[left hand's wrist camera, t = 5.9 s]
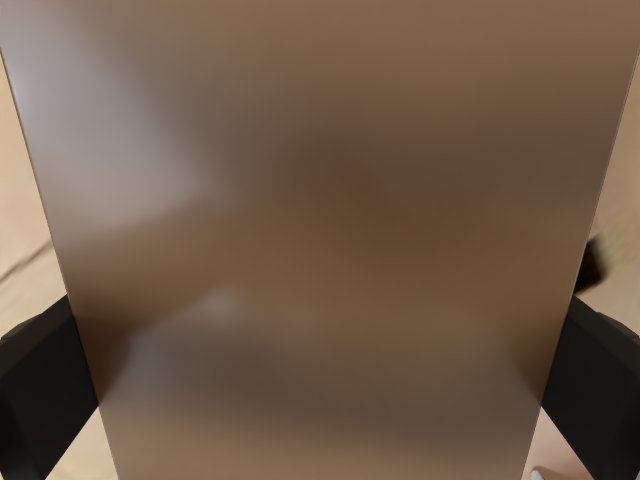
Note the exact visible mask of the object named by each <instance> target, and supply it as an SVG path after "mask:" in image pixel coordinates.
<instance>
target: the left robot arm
mask: <svg viewBox="0 0 640 480" xmlns="http://www.w3.org/2000/svg"><path fill="white" fill-rule="evenodd" d="M541 406H542V408H543V409H544V410H545V412H546V413H547V414H548V416H549V417H550V419H551V420H552V421H553V423H554V424H555V426H556V427H557V428H558V430H559V431H560V433H561V434H562V435H563V437H564V438H565V439H566V441H567V442H568V444H569V445H570V446H571V448H572V449H573V451H574V452H575V453H576V455H577V456H578V457H579V459H580V460H581V462H582V463H583V464H584V466H585V467H586V469H587V470H588V471H589V473H590V474H591V476H592V477H593V478H594V480H636V477H637V475H638V473H639V471H640V338H639V336H638V335H637V334H636V333H634V332H633V331H632V330H630V329H629V328H628V327H626V326H625V325H624V324H622V323H620V322H618V321H616V320H614V319H612V318H610V317H608V316H606V315H604V314H602V313H600V312H595V311H594V310H593V309H591V308H590V307H589V306H588V305H586V304H585V303H584V302H582V301H581V300H580V299H579V298H577V297H576V296H575V295H573V294H572V297H571V301H570V304H569V308H568V312H567V315H566V319H565V322H564V326H563V330H562V333H561V337H560V340H559V344H558V348H557V351H556V355H555V358H554V362H553V366H552V369H551V373H550V376H549V380H548V384H547V387H546V391H545V394H544V398H543V402H542V405H541ZM97 407H98V403H97V400H96V396H95V392H94V389H93V385H92V382H91V378H90V374H89V371H88V367H87V364H86V360H85V356H84V353H83V349H82V345H81V342H80V338H79V335H78V331H77V327H76V324H75V320H74V317H73V313H72V309H71V306H70V302H69V299H68V295H67V294H66V295H65V296H64V297H62V298H61V299H60V300H58V301H57V302H56V303H55V304H53V305H52V306H51V307H49V308H48V309H47V310H45V311H44V312H43V313H42V314H39V315H37V316H35V317H33V318H31V319H29V320H27V321H25V322H22V323H20V324H18V325H17V326H16V327H14V328H13V329H12V330H10V331H9V332H8V333H6V334H5V335H4V336H2V337H1V340H0V472H1V474H2V477H3V479H4V480H45V479H46V478H47V476H48V475H49V474H50V472H51V471H52V469H53V468H54V467H55V465H56V464H57V462H58V461H59V460H60V458H61V457H62V456H63V454H64V453H65V451H66V450H67V449H68V447H69V446H70V444H71V443H72V442H73V440H74V439H75V437H76V436H77V435H78V433H79V432H80V431H81V429H82V428H83V426H84V425H85V424H86V422H87V421H88V419H89V418H90V417H91V415H92V414H93V413H94V411H95V410H96V408H97Z"/></svg>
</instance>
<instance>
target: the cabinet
mask: <svg viewBox="0 0 640 480" xmlns="http://www.w3.org/2000/svg"><path fill="white" fill-rule="evenodd" d="M639 52H640V0H0V54H1V57H2V61H3V64H4V68H5V72H6V75H7V79H8V82H9V86H10V90H11V93H12V97H13V100H14V104H15V108H16V111H17V115H18V119H19V122H20V126H21V129H22V133H23V137H24V140H25V144H26V147H27V151H28V155H29V158H30V162H31V165H32V169H33V173H34V176H35V180H36V183H37V187H38V191H39V194H40V198H41V201H42V205H43V209H44V212H45V216H46V219H47V223H48V227H49V230H50V234H51V237H52V241H53V245H54V248H55V252H56V255H57V259H58V263H59V266H60V270H61V273H62V277H63V281H64V284H65V288H66V291H67V295H68V299H69V302H70V306H71V309H72V313H73V317H74V320H75V324H76V327H77V331H78V335H79V338H80V342H81V345H82V349H83V353H84V356H85V360H86V364H87V367H88V371H89V374H90V378H91V382H92V385H93V389H94V392H95V396H96V400H97V403H98V407H99V410H100V414H101V418H102V421H103V425H104V428H105V432H106V436H107V439H108V443H109V446H110V450H111V454H112V457H113V461H114V464H115V468H116V472H117V475H118V479H119V480H521V477H522V474H523V470H524V467H525V463H526V459H527V456H528V452H529V449H530V445H531V441H532V438H533V434H534V430H535V427H536V423H537V420H538V416H539V412H540V409H541V405H542V402H543V398H544V394H545V391H546V387H547V384H548V380H549V376H550V373H551V369H552V366H553V362H554V358H555V355H556V351H557V348H558V344H559V340H560V337H561V333H562V330H563V326H564V322H565V319H566V315H567V312H568V308H569V304H570V301H571V297H572V294H573V290H574V286H575V283H576V279H577V275H578V272H579V268H580V265H581V261H582V257H583V254H584V250H585V247H586V243H587V239H588V236H589V232H590V229H591V225H592V221H593V218H594V214H595V211H596V207H597V203H598V200H599V196H600V193H601V189H602V185H603V182H604V178H605V175H606V171H607V167H608V164H609V160H610V157H611V153H612V149H613V146H614V142H615V139H616V135H617V131H618V128H619V124H620V121H621V117H622V113H623V110H624V106H625V102H626V99H627V95H628V92H629V88H630V84H631V81H632V77H633V74H634V70H635V66H636V63H637V59H638V56H639Z"/></svg>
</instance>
